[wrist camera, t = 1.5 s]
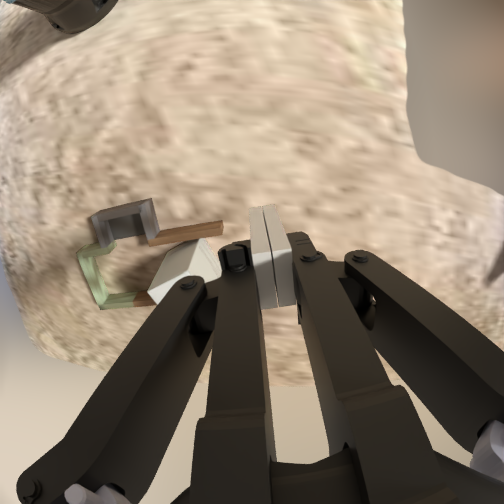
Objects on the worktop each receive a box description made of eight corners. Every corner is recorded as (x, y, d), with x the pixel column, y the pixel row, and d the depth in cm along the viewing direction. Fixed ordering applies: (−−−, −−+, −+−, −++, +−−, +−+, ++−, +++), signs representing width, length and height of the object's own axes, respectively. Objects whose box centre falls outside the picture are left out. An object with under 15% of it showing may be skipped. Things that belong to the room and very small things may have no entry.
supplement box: (166, 251, 47) (144, 290, 35) (202, 232, 45) (188, 269, 34) (188, 283, 49) (175, 329, 38) (224, 267, 48) (218, 311, 37)
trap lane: (75, 217, 43) (65, 223, 40) (215, 185, 42) (213, 190, 39) (117, 321, 53) (111, 332, 50) (240, 310, 52) (240, 322, 49)
